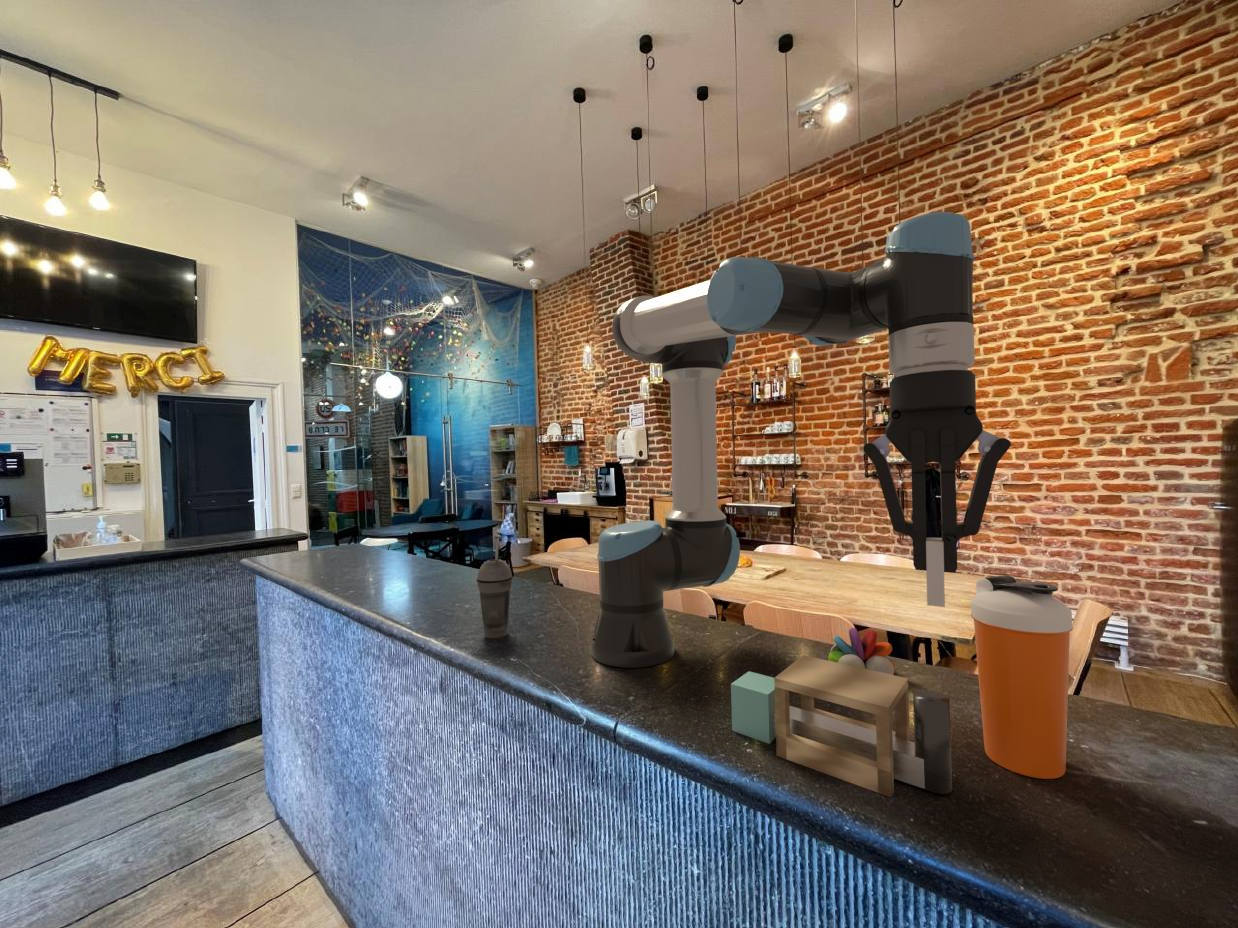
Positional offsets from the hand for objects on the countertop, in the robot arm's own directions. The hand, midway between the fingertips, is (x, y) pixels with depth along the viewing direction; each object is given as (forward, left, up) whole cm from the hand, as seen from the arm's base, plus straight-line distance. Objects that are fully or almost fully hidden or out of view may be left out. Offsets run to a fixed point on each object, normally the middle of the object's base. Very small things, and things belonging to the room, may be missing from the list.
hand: (935, 602), depth 52 cm
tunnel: (-10, 0, -19) cm, 21 cm away
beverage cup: (-79, +2, -19) cm, 81 cm away
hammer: (-9, 0, -19) cm, 21 cm away
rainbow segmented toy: (-15, +25, -20) cm, 35 cm away
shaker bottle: (+6, +11, -19) cm, 23 cm away
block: (-20, 0, -19) cm, 28 cm away
